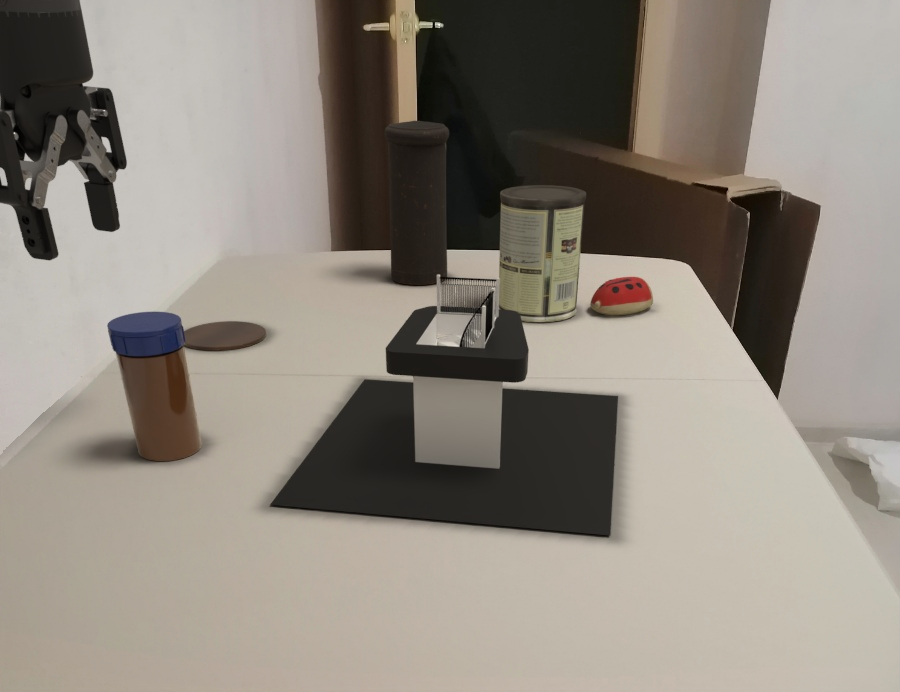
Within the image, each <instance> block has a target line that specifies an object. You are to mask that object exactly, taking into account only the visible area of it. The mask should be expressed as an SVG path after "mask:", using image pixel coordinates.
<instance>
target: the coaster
mask: <svg viewBox="0 0 900 692" xmlns="http://www.w3.org/2000/svg"><path fill="white" fill-rule="evenodd" d="M184 334H185V340H186V342H185V343H184V347H186V348H189V349H194V350H198V351H214V352H215V351H216V352H217V351H218V352H219V351H232V350H237V349H238V350H239V349H243V348H248V347H250V346H253V345H256V344H259V343H260V342H262V341H264V339H266V337H267V330H266V328H265V327H264V326H262V325H260V324H257V323H253V322H249V321H238V320H237V321H236V320H227V321H226V320H225V321H215V322H208V323H203V324H199V325H195V326H193V327H190V328H187V329H185V330H184Z"/></svg>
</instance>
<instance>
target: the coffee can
mask: <svg viewBox="0 0 900 692" xmlns="http://www.w3.org/2000/svg"><path fill="white" fill-rule="evenodd" d="M499 198H500V220H499V221H500V223H499V224H500V226H499V262H498V263H499V265H498V266H499V268H498V278H500V285H499V309H500V310H513V311H516V312H518V313H519V315H520V316H521V320H522V322H527V323H554V322H559V321H565V320H567V319H570V318H572V317H574V316H576V314H577V312H578V311H577V305H578V304H577V303H578V293H579V291H578V290H579V277H580V264H581V263H580V262H581V251H582V250H581V249H582V240H583V226H584V214H585V213H584V212H585V201H586V199H587V192H586V191H585V190H583V189H580V188H577V187H573V186H565V185H552V184H533V185H532V184H531V185H518V186H512V187H507V188H505V189H504V188H503V189H502V190H501V191H500V192H499Z"/></svg>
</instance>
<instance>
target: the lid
mask: <svg viewBox="0 0 900 692" xmlns="http://www.w3.org/2000/svg"><path fill="white" fill-rule="evenodd" d="M106 327H107V332H108V336H109V342H110V345H111V348H112V350H113V352H114V353H116V352H117V353H119V354H122V355H128V356H151V355H159V354H163V353H168V352H171V351H174V350H176V349H178V348H180V347H182V346H183V345H184V343H185V342H186V340H185V334H184V331H185V329H184V326H183V322H182V317H181V316H179V315H178V314H176V313H173V312H167V311H141V312H134V313H128V314H124V315H121V316H117V317H115V318H113V319H111V320H110V321H109V322H108V323H107V325H106Z"/></svg>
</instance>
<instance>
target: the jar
mask: <svg viewBox="0 0 900 692" xmlns="http://www.w3.org/2000/svg"><path fill="white" fill-rule="evenodd" d="M115 356H116V361H117V365H118V369H119V373H120V378H121V382H122V386H123V390H124V395H125V398H126V405H127V408H128V413H129V417H130V422H131V426H132V431H133V436H134V438H135V439H134V440H135V444H136V447H137V452H138V454H139V456H140V457H142V458H143V459H145V460H149V461H154V462H170V461H171V462H172V461H178V460H182V459H185V458H188V457H191V456H193V455H194V454H196V453H198V452H199V451H200V450H201V448H202V437H201V434H200V433H201V432H200V427H199V421H198V417H197V412H196V406H195V400H194V399H195V398H194V394H193V388H192V384H191V383H192V382H191V378H190V373H189V367H188V361H187V356H186V351H185V346H184V345H183V346H182V347H180V348H178V349H176V350H174V351H171V352H168V353H163V354H159V355H151V356H128V355H122V354H119V353H117V352H115Z"/></svg>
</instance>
